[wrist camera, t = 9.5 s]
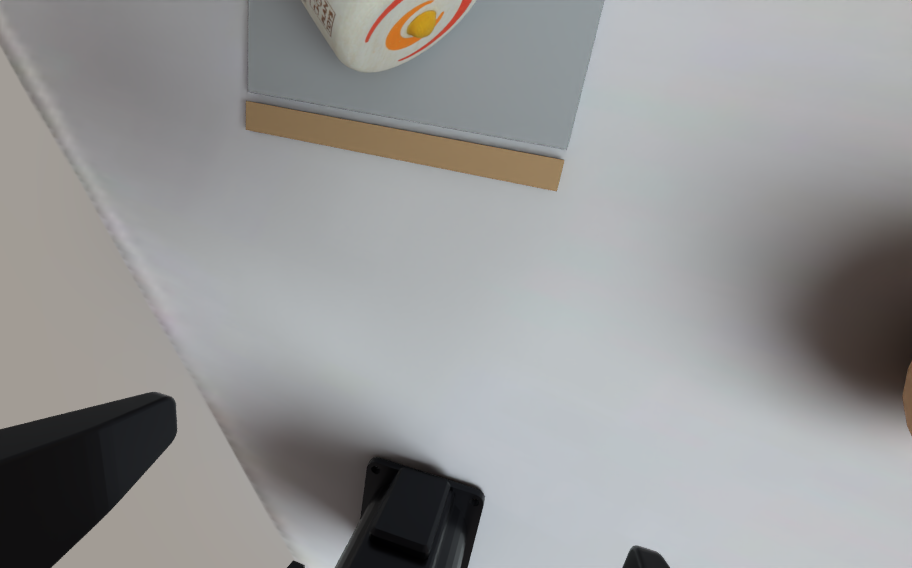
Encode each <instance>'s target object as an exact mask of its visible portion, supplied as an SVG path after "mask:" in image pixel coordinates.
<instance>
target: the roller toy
mask: <svg viewBox="0 0 912 568" xmlns="http://www.w3.org/2000/svg"><path fill="white" fill-rule="evenodd" d="M301 1H302V3H303V4H304V6H305V8H306V9H307V11H308V13H309V14H310V16H311V17H312V19H313V21H314V22H315V24H316V25H317V27H318V28H319V30H320V31H321V33H322V35H323V36H324V38H325V39H326V41H327V42H328V44H329V45H330V47H331V48H332V50H333V51H334V53H335V54H336V56H337V57H338V59H339V60H340V61H341V62H342V63H343V64H344V65H346V66H347V67H349V68H351V69H353V70H356V71H359V72H366V73H372V72H380V71H384V70H388V69H391V68H394V67H396V66H399V65H401V64H403V63H405V62H407V61H409V60H411V59H413V58H415V57H416V56H418V55H420V54H421V53H423V52H424V51H426V50H427V49H429V48H430V47H432V46H433V45H434V44H436V43H437V42H438V41H439V40H441V39H442V38H443V37H444V36H445V35H447V34H448V33H449V32H450V31H451V30H452V29H453V28H454V27H455V26H456V25H457V24H458V23H459V22H460V21H461V20H462V19H463V18H464V16H465V15H466V14H467V13H468V11H469V10H470V9H471V8H472V6H473V5H474V3H475V2H476V0H301Z"/></svg>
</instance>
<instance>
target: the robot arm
mask: <svg viewBox="0 0 912 568" xmlns="http://www.w3.org/2000/svg"><path fill="white" fill-rule="evenodd" d="M176 433H177V417H176V403H175V400H174V399H173V398H172V397H170V396H167V395H164V394H161V393H157V392H150V393H145V394H141V395H137V396H134V397H129V398H125V399H121V400H117V401H113V402H109V403H105V404H101V405H97V406H93V407H89V408H85V409H81V410H77V411H73V412H69V413H65V414H61V415H57V416H53V417H48V418H45V419H40V420H37V421H33V422H29V423H24V424H20V425H16V426H12V427H8V428H4V429H0V568H51V567H52V566H53V565H54V564H55V563H56V562H58V561H59V560H60V559H61V557H63V555H65V554H66V553H67V552H68V551H69V550H70V549H71V548H72V547H73V546H74V545H75V544H76V543H77V542H79V540H81V539H82V538H83V537H84V536H85V535H86V534H87V533H88V532H89V531H90V530H91V529H92V528H93V527H94V526H95V525H96V524H97V523H98V522H99V521H100V520H101V519H102V518H103V517H104V516H105V515H106V514H107V513H108V512H109V511H110V510H111V509H112V508H113V507H114V506H115V505H116V504H117V503H118V502H119V501H120V500H121V499H122V498H123V496H124V495H125V494H126V493H127V492H128V491H129V490H130V489H131V487H132V486H133V485H134V484H135V483H136V482H137V481H138V480H139V478H140V477H141V476H142V475H143V474H144V473H145V471H147V470H148V468H149V467H150V466H151V465H152V464H153V463H154V462H155V461H156V459H158V457H159V456H160V455H161V454H162V453H163V452H164V451H165V450H166V449H167V447H168V446H169V445H170V444H171V443H172V441H173V440H174V438H175V436H176ZM375 466H377V467H378V468H379V469H378V468H376V467H375ZM472 498H475V499H477V500H474V499H472ZM484 500H485V496H484V494H483V492H482V491H480V490H478V489H476V488H473V487H469V486H466V485H463V484H460V483H457V482H454V481H451V480H448V479H444V478H441V477H438V476H435V475H432V474H429V473H426V472H423V471H420V470H416V469H413V468H410V467H407V466H404V465H401V464H398V463H395V462H391V461H388V460H385V459H382V458H378V457H375V458H373V459H371V461H370V462H369V464H368V466H367V472H366V480H365V487H364V495H363V503H362V511H361V518H360V522H359V523H358V525H357V527H356V529H355V531H354V533H353V535H352V537H351V538H350V540H349V542H348V544H347V546H346V548H345V550H344V551H343V553H342V555H341V557H340V559H339V561H338V563H337V565H336V566H335V568H468V564H469V560H470V556H471V552H472V548H473V544H474V540H475V536H476V533H477V529H478V525H479V521H480V517H481V513H482V509H483V505H484ZM287 568H305V565H303V564H301V563H298V562H296V561H292V563H291V564H290V565H289V566H288V567H287ZM623 568H670V567H669V565H668V564H667V562H666V561H665V560H664V558H663V557H662V556H661V555H660V554H659V553H658V552H656V551H653V550H650V549H647V548H644V547H641V546H633V547H632V548H631V549H630V551H629V553H628V556H627V558H626V560H625V563H624V565H623Z"/></svg>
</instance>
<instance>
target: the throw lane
mask: <svg viewBox="0 0 912 568" xmlns="http://www.w3.org/2000/svg"><path fill="white" fill-rule="evenodd" d="M603 4H604V0H476V2H475V3H474V5H473V6H472V8H471V9H470V10H469V11H468V13H467V14H466V15H465V16H464V18H463V19H462V20H461V21H460V22H459V23H458V24H457V25H456V26H455V27H454V28H453V29H452V30H451V31H450V32H449V33H448V34H447V35H445V36H444V37H443V38H442V39H441V40H439V41H438V42H437V43H436V44H434V45H433V46H432V47H430V48H429V49H427V50H426V51H424V52H423V53H421V54H420V55H418V56H416V57H415V58H413V59H411V60H409V61H407V62H405V63H403V64H401V65H399V66H396V67H394V68H391V69H388V70H384V71H380V72H372V73H366V72H359V71H356V70H353V69H351V68H349V67H347V66H346V65H344V64H343V63H342V62H341V61H340V60H339V59H338V57H337V56H336V54H335V53H334V51H333V50H332V48H331V47H330V45H329V44H328V42H327V41H326V39H325V38H324V36H323V35H322V33H321V31H320V30H319V28H318V27H317V25H316V24H315V22H314V21H313V19H312V17H311V16H310V14H309V13H308V11H307V9H306V8H305V6H304V4H303V3H302V1H301V0H248V92H253V93H258V94H264V95H269V96H275V97H280V98H286V99H291V100H297V101H302V102H308V103H313V104H319V105H324V106H330V107H335V108H341V109H346V110H352V111H357V112H363V113H368V114H374V115H379V116H385V117H390V118H396V119H401V120H407V121H412V122H418V123H423V124H429V125H434V126H440V127H445V128H451V129H456V130H462V131H467V132H472V133H478V134H483V135H489V136H494V137H500V138H505V139H511V140H516V141H522V142H527V143H533V144H538V145H544V146H549V147H555V148H560V149H566V150H567V148H568V144H569V140H570V136H571V132H572V128H573V124H574V120H575V116H576V112H577V108H578V104H579V100H580V96H581V92H582V88H583V84H584V80H585V76H586V72H587V68H588V64H589V60H590V56H591V52H592V48H593V44H594V40H595V36H596V32H597V28H598V24H599V20H600V16H601V12H602V8H603ZM246 130H250V131H255V132H260V133H265V134H270V135H275V136H280V137H286V138H291V139H296V140H301V141H306V142H311V143H316V144H321V145H326V146H331V147H336V148H341V149H346V150H351V151H356V152H361V153H366V154H371V155H376V156H381V157H386V158H391V159H396V160H401V161H406V162H412V163H417V164H422V165H427V166H432V167H437V168H442V169H447V170H452V171H457V172H462V173H467V174H472V175H477V176H482V177H487V178H492V179H497V180H502V181H507V182H512V183H517V184H522V185H527V186H532V187H538V188H543V189H548V190H553V191H557V188H558V184H559V180H560V176H561V172H562V168H563V164H564V160H561V159H556V158H550V157H545V156H539V155H534V154H529V153H523V152H518V151H513V150H507V149H502V148H496V147H491V146H486V145H480V144H475V143H470V142H464V141H459V140H453V139H448V138H443V137H437V136H432V135H427V134H421V133H416V132H410V131H405V130H400V129H394V128H389V127H384V126H378V125H373V124H367V123H362V122H357V121H351V120H346V119H341V118H335V117H330V116H324V115H319V114H314V113H308V112H303V111H298V110H292V109H287V108H282V107H276V106H271V105H265V104H260V103H255V102H249V101H246Z"/></svg>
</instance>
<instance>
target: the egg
mask: <svg viewBox="0 0 912 568" xmlns="http://www.w3.org/2000/svg"><path fill="white" fill-rule="evenodd" d="M902 398H903V404H904V410H905V416H906V422H907V426H908V429H909V431H910V433H911V435H912V361H911V363H910V366H909V368H908V371H907V376H906V381H905V386H904V391H903V396H902Z"/></svg>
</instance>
